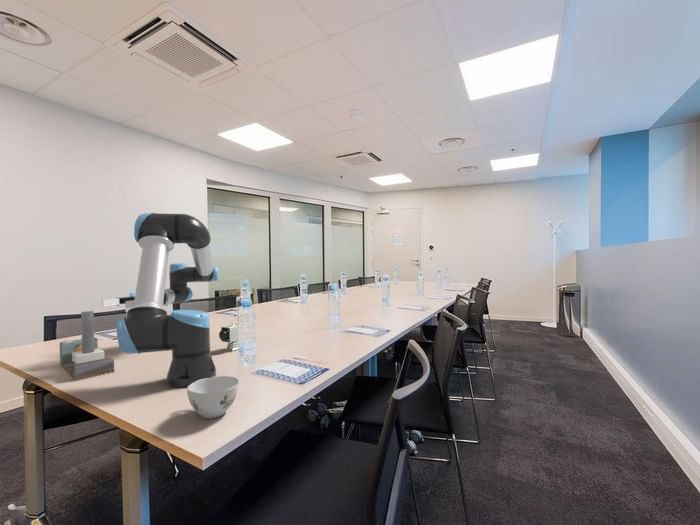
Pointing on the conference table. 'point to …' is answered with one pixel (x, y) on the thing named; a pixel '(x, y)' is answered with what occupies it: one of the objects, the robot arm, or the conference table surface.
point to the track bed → (84, 368)
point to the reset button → (78, 348)
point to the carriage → (87, 341)
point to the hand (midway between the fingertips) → (114, 304)
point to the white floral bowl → (213, 395)
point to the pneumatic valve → (230, 336)
